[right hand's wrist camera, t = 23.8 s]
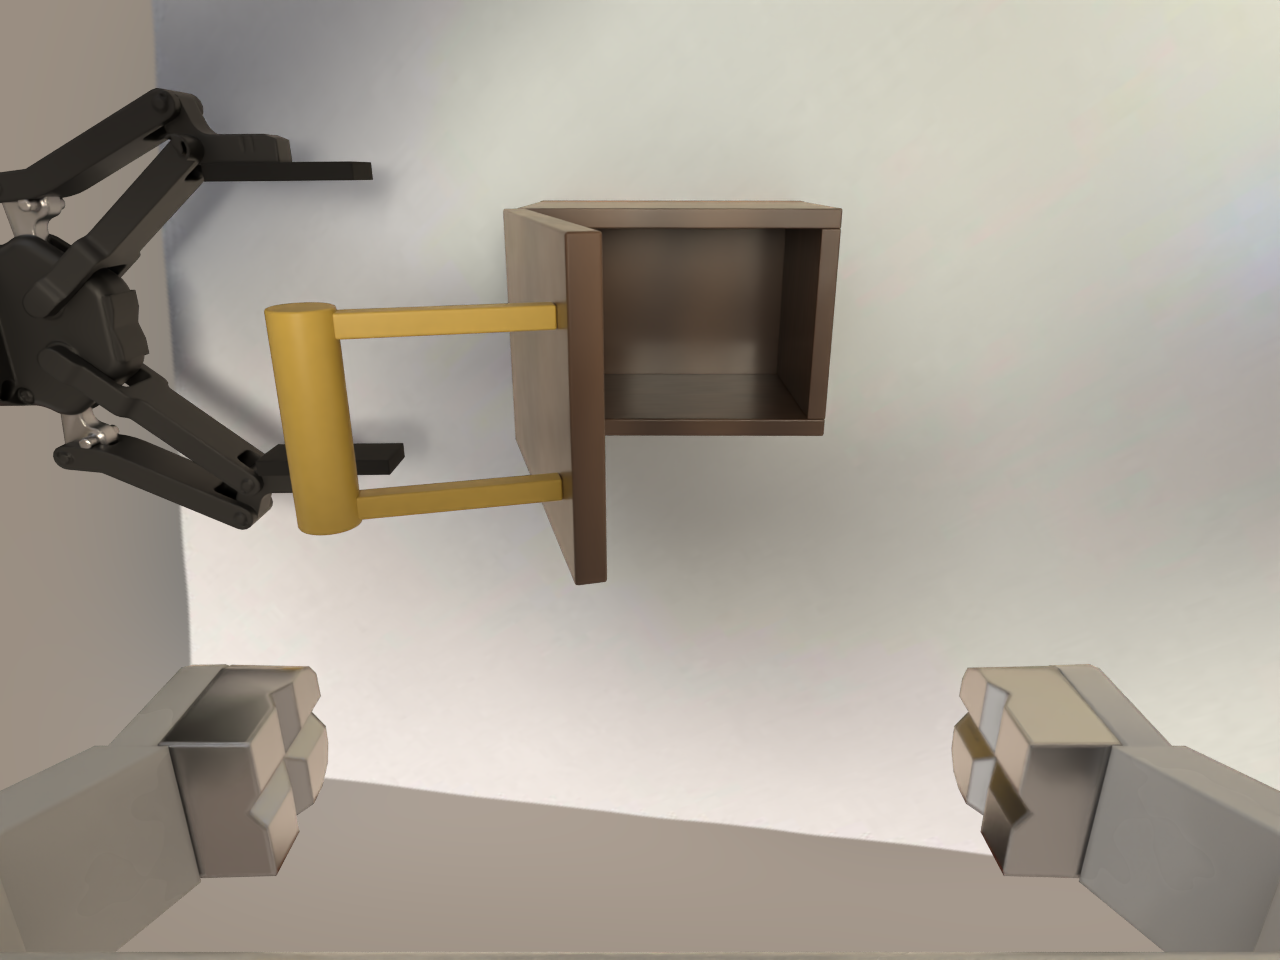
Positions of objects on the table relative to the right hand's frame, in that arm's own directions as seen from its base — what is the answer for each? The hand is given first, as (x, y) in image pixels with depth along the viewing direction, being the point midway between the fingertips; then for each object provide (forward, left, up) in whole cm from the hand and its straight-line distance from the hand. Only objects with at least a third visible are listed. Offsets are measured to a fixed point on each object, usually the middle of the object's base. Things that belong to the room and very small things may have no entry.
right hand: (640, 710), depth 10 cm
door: (+1, +2, -20) cm, 20 cm away
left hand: (+6, +11, -30) cm, 33 cm away
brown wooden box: (-1, -1, -38) cm, 38 cm away
